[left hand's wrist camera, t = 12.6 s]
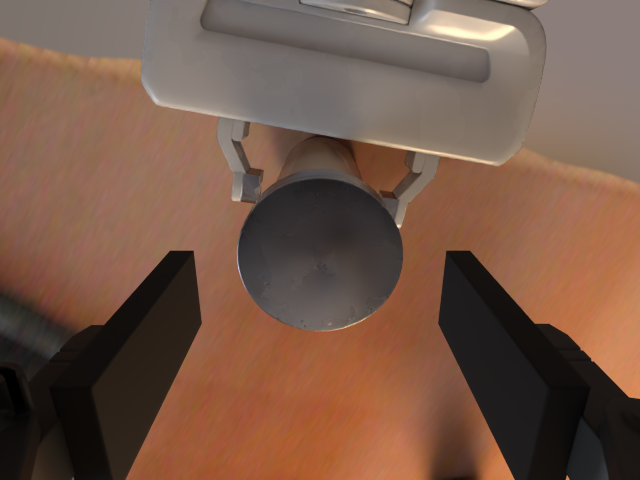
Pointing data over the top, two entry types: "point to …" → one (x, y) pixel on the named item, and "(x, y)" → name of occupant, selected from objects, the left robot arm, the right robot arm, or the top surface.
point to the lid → (319, 250)
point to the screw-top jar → (320, 158)
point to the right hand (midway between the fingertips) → (316, 212)
